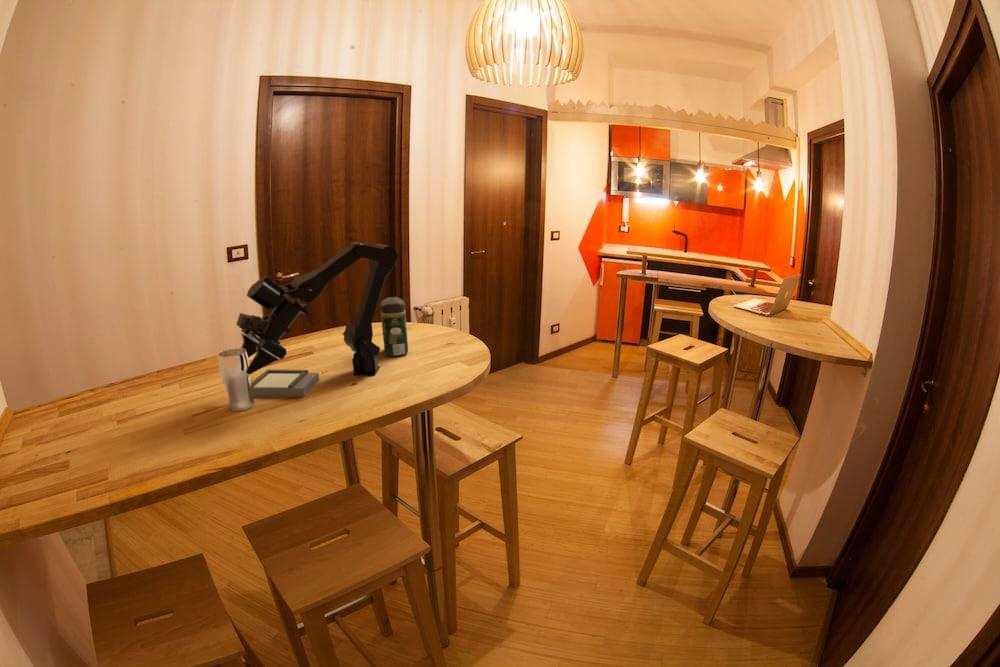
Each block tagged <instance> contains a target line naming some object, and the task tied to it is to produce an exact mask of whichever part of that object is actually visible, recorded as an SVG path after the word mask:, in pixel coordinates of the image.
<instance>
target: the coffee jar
mask: <svg viewBox="0 0 1000 667" xmlns="http://www.w3.org/2000/svg"><path fill="white" fill-rule="evenodd" d="M405 305H406V304H405V301H404V300H403V298H400V297H398V296H392V297H389V296H388V297H385V299H383V300H381V301H380V317H381V318H380V319H381V328H382V337H383V348H384V354H385V355H386V356H388V357H394V356H396V357H401V356H405V355H407V354H408V352H409V345H408V344H409V342H408V333H407V332H408V331H407V330H408V329H407V317H406V316H407V315H406V314H407V313H406V306H405Z"/></svg>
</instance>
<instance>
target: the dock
mask: <svg viewBox="0 0 1000 667" xmlns="http://www.w3.org/2000/svg"><path fill="white" fill-rule="evenodd" d="M319 380H320V373H319V372H309V370H308V369H266V370H265V371H264V372H262V373H261V374H260V375H259V376H257V377H256V378H255V379H254V380H253V381H251V394H252V397H270V396H275V398H276V397H278V396H280V398H281V397H282V398H284V397H285V398H288V397H290V398H294V397H293V396H297V397H296V398H304V397H305V395H306V396H307V395H308V394H309V392H311V390H313V388H314V387H315V386H316V385H317V384H318V383H319V382H320V381H319ZM318 381H319V382H318ZM317 382H318V383H317ZM316 383H317V384H316ZM315 384H316V385H315Z"/></svg>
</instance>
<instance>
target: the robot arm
mask: <svg viewBox="0 0 1000 667" xmlns="http://www.w3.org/2000/svg"><path fill="white" fill-rule="evenodd" d="M362 258H363V259H368V269H369V272H368V276H367V281H366V282H365V287H364V290H363V293H362V296H361V300H360V304H359V306H358V309H357V313H356V316H355V318H354V320H353V321H352V322H348V321H347V322H346V324H345V329H344V331H343V332H342V335H343V341H344V343H345V345H346V346H347V347H349V348H350V349H351V351H352V352H354V353H353V358H352V359H351V361H352V369H353V375H354V376H375V375H376V374H377V373H378V371H379V370H380V368H381V366H380V365H379V362H378V361H379V360H378V355H379V354H380V350H381V348H380V346H378V345H377V344H375V343H374V342H373V337H374V335H373V334H374V332H373V325H372V323H373V319H374V316H375V314H376V310H377V307H378V303H379V300H380V297H381V294H382V290H383V288H384V287H383V286H384V284H385V280H386V278H387V276H388V275H389V274H390V273H391V271H393V269H394V267H395V265H396V263H397V261H398V258H399V254H398V251H397V250H396V249H395V248H394V247H393V246H392V245H391V246H390V245H385V244H381V243H377V244H374V245H368V244H363V243H360V242H355V241H352V242H350V243H349V244H348V246H346V247H345V248H343V249H342V250H341V251H339V252H338V253H337V254H336V255H334V256H333V257H331V258H330V259H328V261H326V262H325V263H323V264H322V265H321V266H319V267H318V268H316V269H315V270H311V271H309V272H306V273H304V274H302V275H300V276H298V277H296V278H294V279H293V280H292V281H291V282H290V283H287V284H283V285H278V284H276V283H275V282H274V281H273V280H272V279H271V278H270V277H268V276H266V275H263V276H262V278H261V279H259V280H257V281H256V282H255V283H253V284H252V285H251V286H250V287H249V288H248V291H247V294H246V296H247V298H249V299H250V300H252V301H253V302H255V303H256V304H258V305H259V306H261V307H262V308H264V309H266V310H269V309H273V310H272V311H271V313H270V314H269V315H268V314H264V315H263V316H262V317H260V316H259V315H258V316H256V315H255V314H253V315H252V314H251V315H250V314H246V313H243V312H240V313H239V315H238V318H237V321H236V326H238V328H240V329H241V330H240V331H241V333H240V334H241V337H242V345H241V347H240V348H243V349H246V350H247V355H248V358H250V357H251V356H254V357H253V359H252V360H251V362H250V365H249V367H248V369H247V371H246V373H248V374H251V375H252V374H253V373H255V372H257V371H259V370H261V369H262V368H265V367H266V366H268V365H271V364H272V363H274V362H278V361H280V360H283V359H284V358H285V357H286V356H287V348H285V347H284V346H282V344H281V342H280V339H281V338H282V337H283V336H284V334H285V333H287V334H289V333H290V331H291V329H289V328H290V326H292V324H293V323H294V321H296V319H297V318H298V316H299V315H300V313H301V314H304V315H305V316H310V313H309V306H308V304H306V303H312V302H313V301H315V300H316V299H317V298H318V297H319V296H320V294H322V293H323V291H324V289H325V288H326V286H327V285H328V284H329V282H331V281H332V280H333V279H334V278H335V277H337V276H338V275H339V274H341V273H342V272H344V271H345V270H346V269H347V268H349V267H350V266H352V265H353V264H354V263H355V262H357V261H358V260H359V259H362ZM285 295H286V297H285ZM287 297H288V298H290V299H287ZM297 300H299V301H301V302H304V303H303V304H302V303H300V302H299V301H297Z"/></svg>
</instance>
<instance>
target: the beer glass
mask: <svg viewBox="0 0 1000 667" xmlns="http://www.w3.org/2000/svg"><path fill="white" fill-rule="evenodd" d="M249 358H250V357H249ZM249 358H248V355H247V350H246V349H243V348H241V347H239V348H238V347H235V348H229V349H225V350H222V351H219V353H217V360H218V368H219V370H218V371H219V375H220V377H221V380H222V382H223V385H224V387H225V390H226V392H227V395H228V409H229V411H231V412H243V411H247V410H249V409H251V408H253V407H254V406H256V405H255V404H256V402H255V400H254V396H252V394H251V382H252V374H248V373H246V371H247V369H248V367H249V365H250V364H251V362H250V359H249Z"/></svg>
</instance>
